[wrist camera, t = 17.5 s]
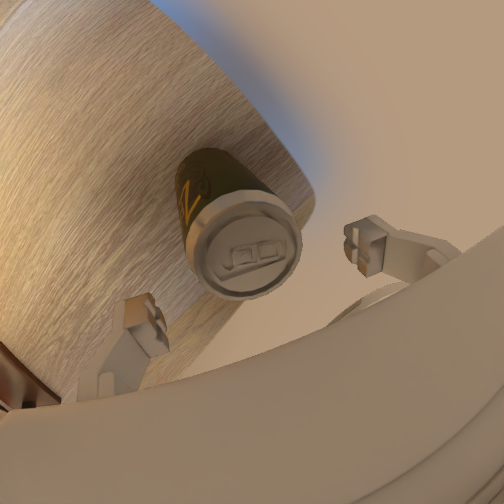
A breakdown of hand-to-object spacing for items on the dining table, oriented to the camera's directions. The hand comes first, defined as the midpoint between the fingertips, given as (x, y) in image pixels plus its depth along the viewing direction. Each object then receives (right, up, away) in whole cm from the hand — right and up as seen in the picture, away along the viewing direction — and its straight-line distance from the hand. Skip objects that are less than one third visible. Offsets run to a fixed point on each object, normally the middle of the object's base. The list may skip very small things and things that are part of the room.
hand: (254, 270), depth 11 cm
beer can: (-4, +7, +11) cm, 14 cm away
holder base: (-37, -19, +15) cm, 44 cm away
